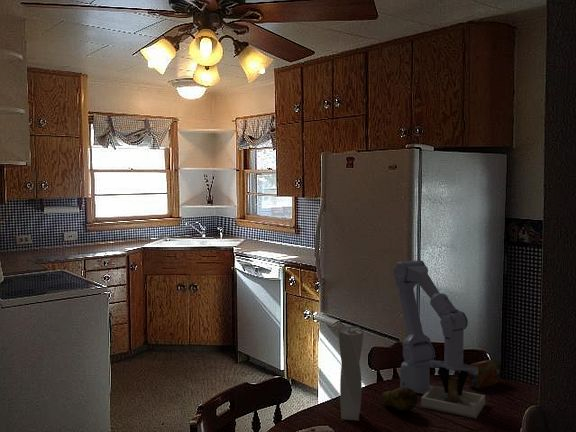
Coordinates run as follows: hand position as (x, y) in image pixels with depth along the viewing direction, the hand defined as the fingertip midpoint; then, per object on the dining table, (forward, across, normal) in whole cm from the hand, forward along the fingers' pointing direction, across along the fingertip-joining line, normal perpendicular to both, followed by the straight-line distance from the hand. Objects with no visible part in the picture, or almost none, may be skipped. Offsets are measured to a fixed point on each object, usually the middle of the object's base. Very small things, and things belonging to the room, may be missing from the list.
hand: (453, 393), depth 168 cm
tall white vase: (+4, -24, -24) cm, 35 cm away
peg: (+2, 0, 0) cm, 2 cm away
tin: (+4, +4, +24) cm, 25 cm away
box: (+4, 0, 0) cm, 4 cm away
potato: (+4, -13, -12) cm, 19 cm away
